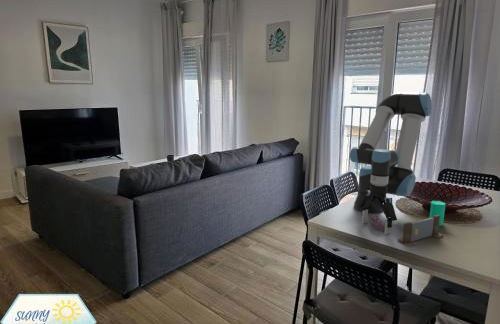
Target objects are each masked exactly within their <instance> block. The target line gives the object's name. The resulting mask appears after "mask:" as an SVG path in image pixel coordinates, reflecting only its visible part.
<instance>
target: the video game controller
mask: <svg viewBox="0 0 500 324" xmlns="http://www.w3.org/2000/svg"><path fill="white" fill-rule="evenodd" d="M369 218H370V219H369V221H370V222H372V223H373V226H374V227H375V229H376V230H377V231H381V232H383V233H384V232H385V224H383V223H382V221H381V220H380V217H378V216H376V215H375V214H374V215H371V216H369Z"/></svg>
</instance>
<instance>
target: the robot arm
mask: <svg viewBox="0 0 500 324" xmlns="http://www.w3.org/2000/svg"><path fill="white" fill-rule="evenodd" d="M431 113H432V97H431V94H429V93H428V92H420V91H419V92H396V93H395V92H394V93H392V94H390V95H388V96H387V97H385V98H384V99H383V100H381V102H380V103H379V104H378V106H377V108H376V110H375V115H374V118H373V119H372V121H371V123H370V125H369V127H368V129H367V130H366V132H365V134H364V136H363V137H362V139H361V142H360V144H359V145H358V147H357V146H356V147H352V148H351V149H350V152H349V160H350V161H351V162H352V163H356V164H362V165H366V166H362V167H361V168H360V169H359V175H358V188H357V189H358V193H357V196H356V197H355V201H354V202H353V203H354V204H353V209H355V210H356V211H359V212H361V216H362V217H361V224H368V216H369V214H378V213H382V212H383V214H384V216H385V218H386V219H385V224H384V226H385V232H383V234H384V235H390V234H391V228H392V227H393V222H394V221H397V220H398V218H397V214H396V212H395V208H394V205H393V198H392V197H387V194H388V195H393V196H397V197H408V196H410V195H411V193H413V189H414V188H415V186H416V179H417V178H416V177H417V176H416V175H415V174H414V170H413V169H412V163H413V158H414V154H415V150H416V146H417V142H418V137H419V134H420V133H419V132H420V129H421V125H422V123H423V122H425V121H426V117H429V116H431ZM396 115H399V116H400V118H401V120H402V123H401V126H400V131H399V134H398V140H397V143H396V147H395V148H396V149H395V150H394V149H393V150H389V149H385V148H384V149H383V148H382V149H380V148H378V149H376V148H377V146H378V144H379V142H380V140H381V139H382V136H383V134H384V132H385V131H386V128H387V126H388V124H389V122H390V120H392V119H393V118H394V117H395V116H396Z"/></svg>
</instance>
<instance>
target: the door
mask: <svg viewBox="0 0 500 324" xmlns="http://www.w3.org/2000/svg"><path fill="white" fill-rule="evenodd" d="M434 219H435V217H431V218H430V217H428V218H424V219H420V220H416V221H412V222H411V223H412V227H411V236H410V241H411V242H415V241H419V240H422V239H426V238H428V237H430V236H431V237H434V236H433V227H434Z"/></svg>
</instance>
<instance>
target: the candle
mask: <svg viewBox="0 0 500 324" xmlns="http://www.w3.org/2000/svg"><path fill="white" fill-rule="evenodd" d="M446 204H447V203H445V202H443V201H441V200H439V199H438V200H432V201H431V202H430V211H429V218H431V217H433V216H434V215H440V221H439V227H441V225H442V226H443V225H444V220H445V211H446Z"/></svg>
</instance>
